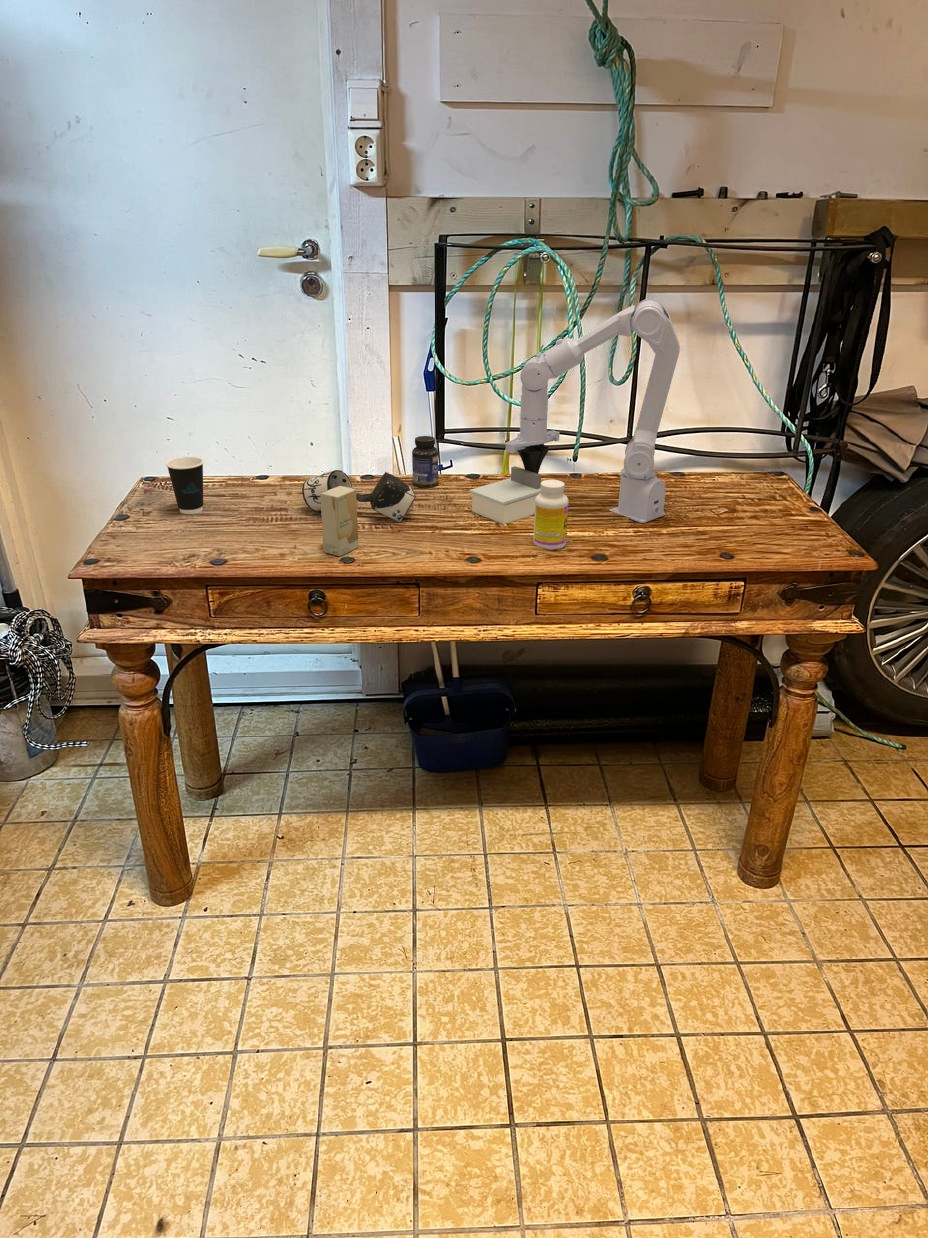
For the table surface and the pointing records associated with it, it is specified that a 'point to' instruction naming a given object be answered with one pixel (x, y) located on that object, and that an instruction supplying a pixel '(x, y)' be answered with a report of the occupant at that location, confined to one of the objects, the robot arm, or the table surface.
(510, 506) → the box
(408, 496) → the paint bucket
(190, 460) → the dixie cup
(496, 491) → the lid
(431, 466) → the pill bottle
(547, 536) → the supplement bottle
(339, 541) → the skincare box
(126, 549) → the table surface
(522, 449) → the robot arm
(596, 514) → the table surface
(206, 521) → the table surface
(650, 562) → the table surface
